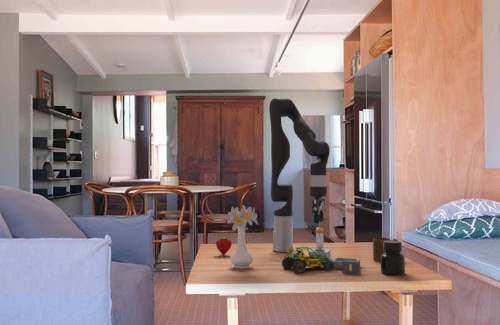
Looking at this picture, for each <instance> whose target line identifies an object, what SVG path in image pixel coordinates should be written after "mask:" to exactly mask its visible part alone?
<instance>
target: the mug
mask: <svg viewBox="0 0 500 325" xmlns="http://www.w3.org/2000/svg"><path fill="white" fill-rule="evenodd" d="M372 240H373V241H372V258H373V261H374V262H379V263H381V255H382V254H383V253H384V252H385V251H383V250H384V249H383V241H387V240H393V241H399V240H398V239H396V238H392V239H391V238H388V237H374V238H372Z"/></svg>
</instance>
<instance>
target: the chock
mask: <svg viewBox="0 0 500 325" xmlns="http://www.w3.org/2000/svg"><path fill="white" fill-rule="evenodd" d="M360 273H361V260H360V261H357V260H344V261H343V269H342V274H350V275H359V274H360Z"/></svg>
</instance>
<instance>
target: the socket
mask: <svg viewBox="0 0 500 325" xmlns="http://www.w3.org/2000/svg"><path fill="white" fill-rule="evenodd" d="M312 250H313V251H314V252H315V253H316V254H317V255H318V256H319V255H322V256H325V257H327V256H328V258H329V259H330V260H331V249H326V248H325V249H324V248H323V252H320V251H316V248H312ZM312 250H311V249H309V252H310V254H312V255H316V254H315V253H314V252H313V251H312ZM309 252H308V256H310V254H309ZM312 257H313V256H312ZM314 257H317V256H314ZM325 257H323V258H325ZM329 259H328V260H329Z"/></svg>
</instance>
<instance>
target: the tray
mask: <svg viewBox="0 0 500 325" xmlns="http://www.w3.org/2000/svg"><path fill="white" fill-rule="evenodd" d="M344 260H357V261H360V262H361V259H360V258H356V257H354V258H352V257H351V258H350V257H338V256H337V257H334V258H333V259H332V260H331V262H332V263H333V269H335V270H343V261H344ZM333 269H332V270H333Z"/></svg>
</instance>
